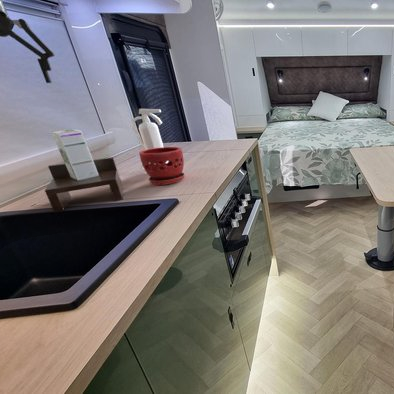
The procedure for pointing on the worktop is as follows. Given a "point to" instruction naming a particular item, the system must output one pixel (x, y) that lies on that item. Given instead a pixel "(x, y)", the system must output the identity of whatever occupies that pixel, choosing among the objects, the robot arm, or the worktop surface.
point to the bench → (82, 182)
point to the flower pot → (163, 164)
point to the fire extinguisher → (148, 130)
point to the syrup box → (75, 154)
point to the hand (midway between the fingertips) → (16, 83)
